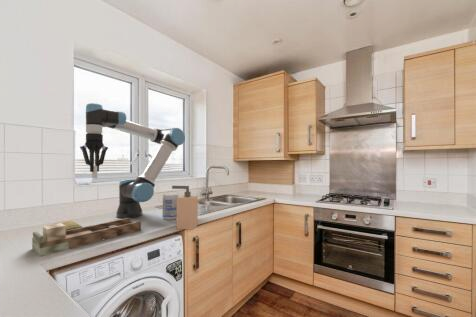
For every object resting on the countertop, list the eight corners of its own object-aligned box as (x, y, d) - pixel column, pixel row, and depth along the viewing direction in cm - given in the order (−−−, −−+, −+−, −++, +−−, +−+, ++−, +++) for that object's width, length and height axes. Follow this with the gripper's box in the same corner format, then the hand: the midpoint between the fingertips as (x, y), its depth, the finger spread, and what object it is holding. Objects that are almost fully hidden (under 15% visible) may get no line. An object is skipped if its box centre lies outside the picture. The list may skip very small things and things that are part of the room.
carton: (72, 228, 122) (72, 220, 122) (83, 234, 112) (83, 225, 112) (53, 232, 116) (53, 223, 116) (62, 239, 106) (62, 229, 106)
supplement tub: (165, 221, 135) (165, 195, 135) (160, 217, 143) (160, 193, 143) (181, 218, 141) (181, 194, 141) (175, 215, 149) (175, 192, 149)
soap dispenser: (197, 225, 127) (197, 185, 127) (192, 229, 118) (192, 187, 118) (175, 224, 129) (175, 184, 129) (169, 228, 120) (169, 186, 120)
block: (61, 237, 99) (61, 223, 99) (65, 240, 95) (65, 225, 95) (43, 241, 94) (43, 226, 94) (47, 244, 90) (47, 229, 90)
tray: (129, 225, 125) (129, 213, 125) (140, 230, 118) (140, 216, 118) (32, 248, 94) (32, 231, 94) (40, 256, 86) (40, 237, 86)
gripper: (104, 134, 129) (104, 176, 129) (77, 132, 119) (77, 178, 119) (110, 134, 124) (110, 177, 125) (83, 131, 114) (83, 179, 114)
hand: (94, 178), depth 122 cm, fingers closed
